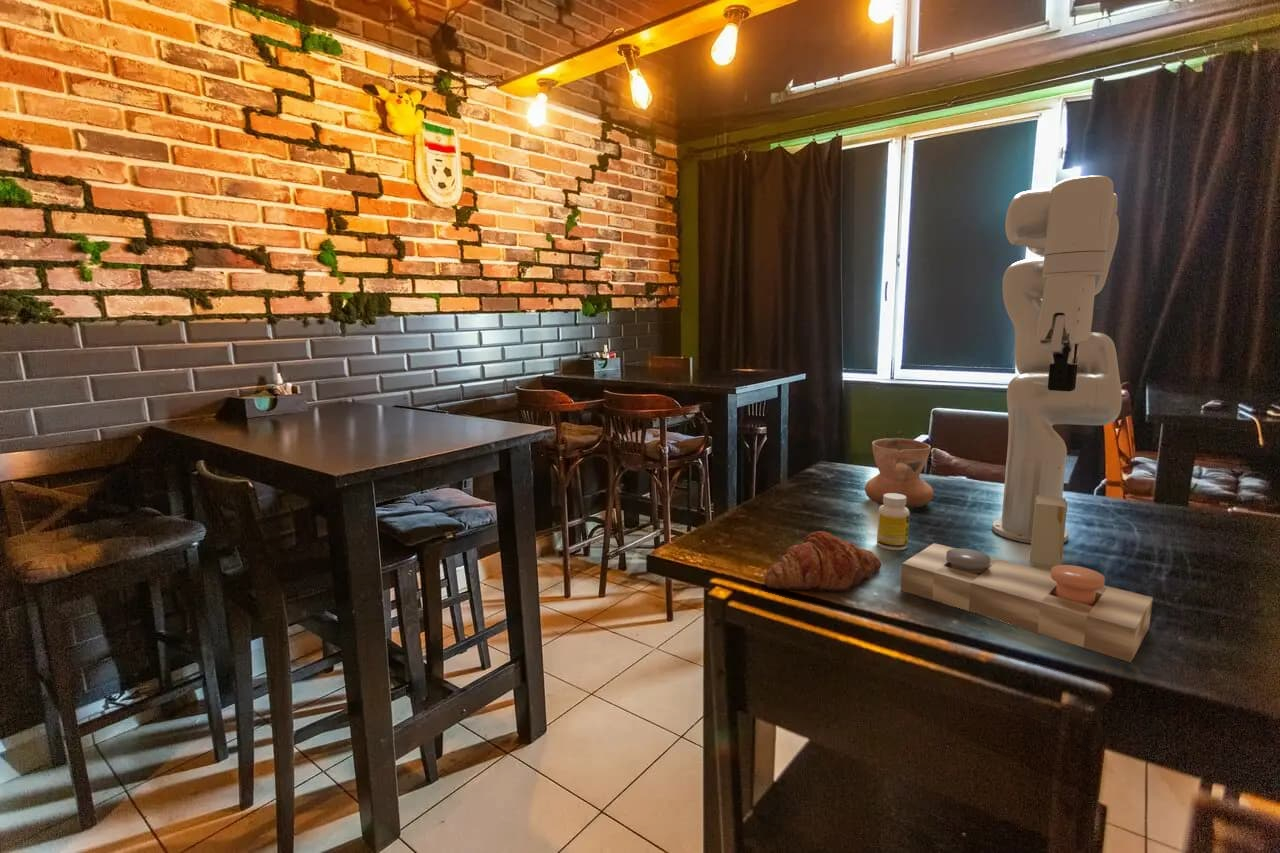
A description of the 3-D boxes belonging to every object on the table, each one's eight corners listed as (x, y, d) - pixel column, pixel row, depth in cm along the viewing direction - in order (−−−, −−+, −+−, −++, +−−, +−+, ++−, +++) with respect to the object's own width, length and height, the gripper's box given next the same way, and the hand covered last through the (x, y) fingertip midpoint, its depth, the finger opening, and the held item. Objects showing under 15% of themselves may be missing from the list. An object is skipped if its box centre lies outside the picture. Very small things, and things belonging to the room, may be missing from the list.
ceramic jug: (936, 518, 129) (940, 453, 127) (863, 512, 135) (866, 449, 132) (929, 494, 146) (933, 436, 143) (865, 490, 151) (867, 433, 149)
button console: (932, 567, 105) (934, 543, 104) (1148, 628, 84) (1152, 597, 83) (900, 589, 97) (902, 563, 96) (1130, 662, 76) (1135, 629, 75)
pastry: (858, 611, 91) (860, 560, 90) (760, 588, 99) (761, 542, 98) (882, 570, 105) (884, 526, 103) (794, 553, 113) (795, 512, 112)
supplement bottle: (910, 552, 112) (913, 500, 110) (879, 550, 113) (881, 499, 111) (904, 541, 117) (906, 492, 115) (874, 540, 118) (876, 491, 116)
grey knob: (953, 577, 99) (955, 545, 98) (993, 588, 95) (996, 555, 94) (937, 589, 95) (940, 555, 94) (979, 601, 91) (982, 566, 90)
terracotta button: (1054, 596, 89) (1058, 561, 88) (1105, 610, 85) (1109, 573, 84) (1042, 610, 85) (1045, 573, 84) (1094, 626, 81) (1099, 587, 80)
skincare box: (1060, 579, 99) (1068, 507, 97) (1029, 574, 101) (1035, 503, 99) (1058, 565, 104) (1066, 497, 102) (1029, 560, 107) (1035, 493, 105)
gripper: (1057, 270, 98) (1047, 384, 101) (1028, 267, 88) (1017, 393, 91) (1116, 266, 92) (1102, 387, 96) (1091, 262, 82) (1077, 397, 86)
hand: (1061, 390), depth 93 cm, fingers closed
